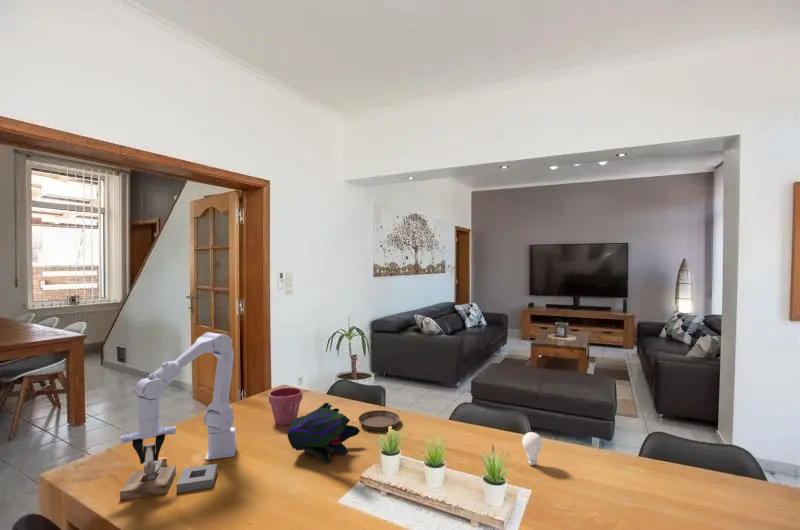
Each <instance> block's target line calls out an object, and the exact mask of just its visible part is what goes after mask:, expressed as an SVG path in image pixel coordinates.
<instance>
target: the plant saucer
mask: <svg viewBox="0 0 800 530" xmlns="http://www.w3.org/2000/svg"><path fill="white" fill-rule="evenodd" d="M400 418H401V417H400V416H399V415H398V414H397V413H395V412H392V411H390V410H389V411H388V410H381V409H379V410H376V409H375V410H370V411H366V412H363V413H362V414H360V415H359V416H358V418H357V419H358V422H359V423H360V425H361V426H362V427H363V428H365V430H368V431H374V432H383V431H388V430H387V429H388V427H389V426H392V427H393V428H394V427H396V425H397V424H398V423H399V422H400Z"/></svg>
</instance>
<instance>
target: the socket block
mask: <svg viewBox="0 0 800 530" xmlns="http://www.w3.org/2000/svg"><path fill="white" fill-rule="evenodd" d="M176 470H177V469H176V465H169V466H168V465H167V466H164V467H161V468H160V469H159V471H158V472H157V478H156V480H152V481H148V474H144V469H141V470H134V471H132V473H131V475H130V476H129V478H128V479H127V480H126V482H125V484H124V485H123V486H122V488H121V490H119V500H120V501H123V500H127V499H128V500H129V499H136V498H141V497H142V498H143V497H149V496H156V495H160V494H166V493H167V492H168V490H169V488H170V486H171V483H172V482H173V479H174V477H175V475H176V473H177V472H176Z"/></svg>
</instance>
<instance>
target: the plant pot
mask: <svg viewBox="0 0 800 530" xmlns="http://www.w3.org/2000/svg"><path fill="white" fill-rule="evenodd" d="M302 400H303V390H302V389H301V388H299V387H280V388H276V389H274V390H271V391H270V392H269V393H268V404H270V405H271V411H272V414H273V419H274V423H275V424H277V425H281V426H286V425H290V424H291V421H292V419H296V418H298V415H299V410H300V405H301V401H302Z"/></svg>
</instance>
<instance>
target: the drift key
mask: <svg viewBox="0 0 800 530" xmlns="http://www.w3.org/2000/svg"><path fill="white" fill-rule="evenodd" d="M168 459H169V458H168V456H164V457H158V461H156V470H155V472H153V473H150V474H148V481H153V480H156V478H157V472H158V471H159V469H160V468H161V467H168V463H169V462H168V461H169V460H168Z"/></svg>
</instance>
